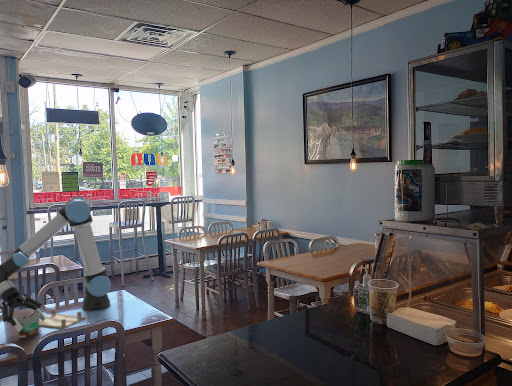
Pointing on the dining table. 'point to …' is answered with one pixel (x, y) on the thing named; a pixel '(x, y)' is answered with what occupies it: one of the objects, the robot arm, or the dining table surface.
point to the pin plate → (60, 320)
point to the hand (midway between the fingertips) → (32, 324)
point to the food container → (29, 325)
